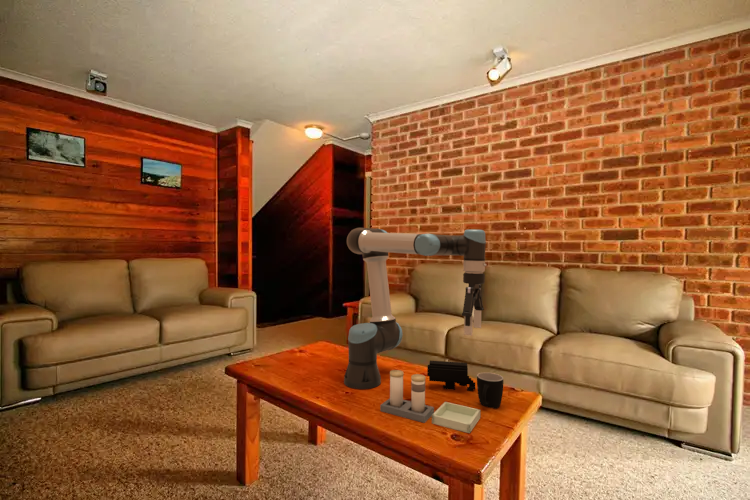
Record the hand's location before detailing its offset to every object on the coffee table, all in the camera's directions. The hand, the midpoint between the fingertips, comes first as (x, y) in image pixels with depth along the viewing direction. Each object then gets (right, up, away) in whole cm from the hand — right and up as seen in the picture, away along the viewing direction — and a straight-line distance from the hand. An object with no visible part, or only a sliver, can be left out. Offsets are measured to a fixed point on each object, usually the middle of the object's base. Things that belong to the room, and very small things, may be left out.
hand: (472, 331), depth 131 cm
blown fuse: (-21, -25, -12) cm, 35 cm away
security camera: (-5, -26, +12) cm, 29 cm away
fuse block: (-25, -25, -10) cm, 37 cm away
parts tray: (-9, -25, -16) cm, 31 cm away
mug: (+4, -26, -4) cm, 26 cm away
